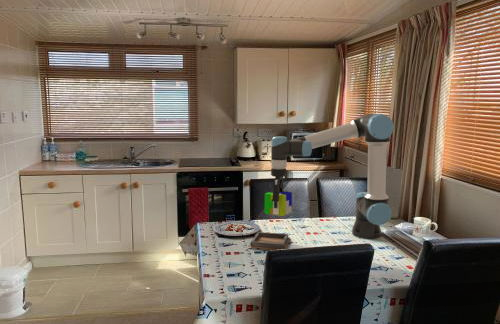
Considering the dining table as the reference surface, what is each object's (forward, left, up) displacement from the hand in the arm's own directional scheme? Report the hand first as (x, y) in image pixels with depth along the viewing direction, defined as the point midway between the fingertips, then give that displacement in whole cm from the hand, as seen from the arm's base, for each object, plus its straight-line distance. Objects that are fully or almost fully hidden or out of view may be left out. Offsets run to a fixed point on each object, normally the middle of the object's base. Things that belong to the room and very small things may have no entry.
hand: (278, 211), depth 192 cm
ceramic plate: (-15, -26, -17) cm, 35 cm away
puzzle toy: (0, 0, -1) cm, 1 cm away
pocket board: (+1, -4, -17) cm, 17 cm away
